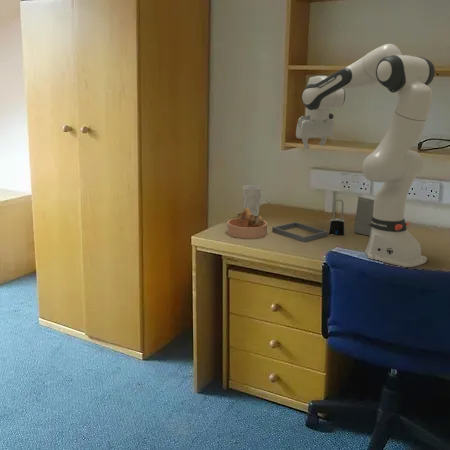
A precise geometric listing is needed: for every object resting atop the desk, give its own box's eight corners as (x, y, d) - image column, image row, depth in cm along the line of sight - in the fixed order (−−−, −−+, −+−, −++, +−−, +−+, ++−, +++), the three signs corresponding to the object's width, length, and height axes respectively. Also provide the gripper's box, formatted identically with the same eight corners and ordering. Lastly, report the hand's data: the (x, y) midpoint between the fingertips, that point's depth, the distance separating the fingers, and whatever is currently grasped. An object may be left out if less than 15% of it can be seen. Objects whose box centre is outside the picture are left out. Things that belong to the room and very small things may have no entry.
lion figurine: (260, 236, 241) (267, 219, 237) (250, 237, 238) (257, 220, 233) (241, 214, 250) (248, 197, 245) (231, 215, 247) (238, 198, 242)
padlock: (328, 234, 243) (330, 199, 239) (328, 231, 247) (331, 197, 243) (344, 235, 242) (347, 200, 238) (344, 233, 246) (347, 198, 242)
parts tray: (327, 236, 241) (327, 231, 240) (303, 242, 232) (304, 237, 231) (295, 226, 254) (295, 222, 254) (272, 231, 245) (272, 227, 245)
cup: (245, 217, 268) (245, 184, 264) (262, 219, 265) (264, 185, 261) (239, 221, 260) (240, 187, 256) (257, 223, 257) (258, 189, 253)
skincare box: (353, 232, 246) (356, 196, 242) (361, 229, 251) (364, 193, 247) (371, 236, 241) (375, 199, 236) (379, 233, 246) (382, 196, 242)
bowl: (274, 234, 242) (274, 223, 241) (245, 240, 232) (245, 230, 231) (248, 225, 254) (248, 215, 253) (219, 231, 244) (219, 221, 243)
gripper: (304, 116, 235) (302, 150, 239) (337, 114, 248) (335, 147, 252) (293, 115, 240) (291, 149, 244) (326, 113, 253) (324, 145, 256)
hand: (314, 148), depth 248 cm, fingers open, 8 cm apart
